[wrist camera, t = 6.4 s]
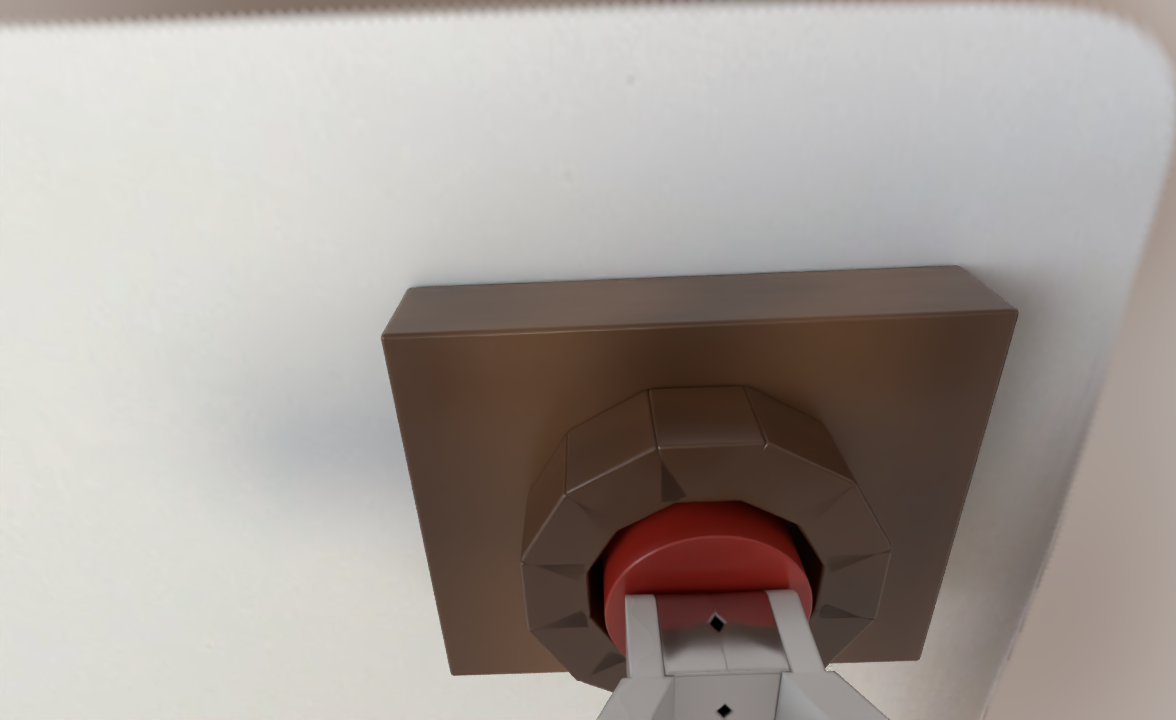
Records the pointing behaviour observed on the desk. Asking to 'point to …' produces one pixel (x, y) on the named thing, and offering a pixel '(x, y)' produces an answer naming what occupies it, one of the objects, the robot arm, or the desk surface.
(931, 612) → the release housing
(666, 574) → the release button
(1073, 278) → the desk surface
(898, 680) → the desk surface
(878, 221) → the desk surface
